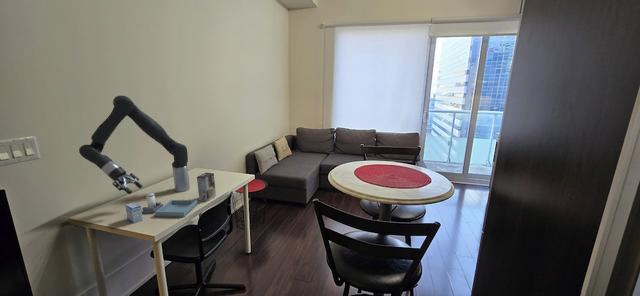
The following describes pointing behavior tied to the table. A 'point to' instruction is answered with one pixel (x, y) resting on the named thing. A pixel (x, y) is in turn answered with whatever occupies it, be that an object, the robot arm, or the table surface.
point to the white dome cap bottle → (151, 200)
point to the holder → (152, 208)
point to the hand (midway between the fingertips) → (136, 190)
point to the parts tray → (176, 208)
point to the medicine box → (134, 212)
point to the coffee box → (206, 186)
